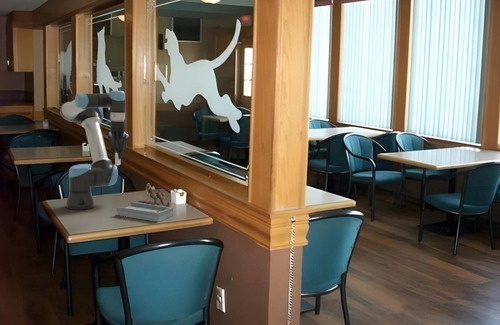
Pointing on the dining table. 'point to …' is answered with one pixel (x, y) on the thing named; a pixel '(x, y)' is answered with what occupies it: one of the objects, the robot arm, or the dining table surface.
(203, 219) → the dining table surface
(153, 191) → the figurine
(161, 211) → the tray
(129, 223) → the dining table surface
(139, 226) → the dining table surface
